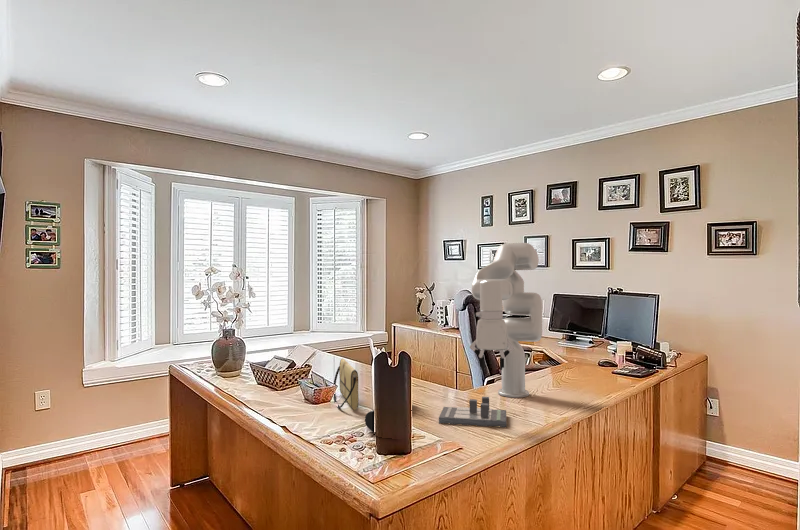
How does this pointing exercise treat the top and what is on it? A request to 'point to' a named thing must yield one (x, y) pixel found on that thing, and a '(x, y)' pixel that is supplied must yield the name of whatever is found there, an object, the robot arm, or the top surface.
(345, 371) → the clutch purse
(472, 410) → the handle
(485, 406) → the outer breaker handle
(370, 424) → the end cap
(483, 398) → the handle
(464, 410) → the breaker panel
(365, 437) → the top surface
